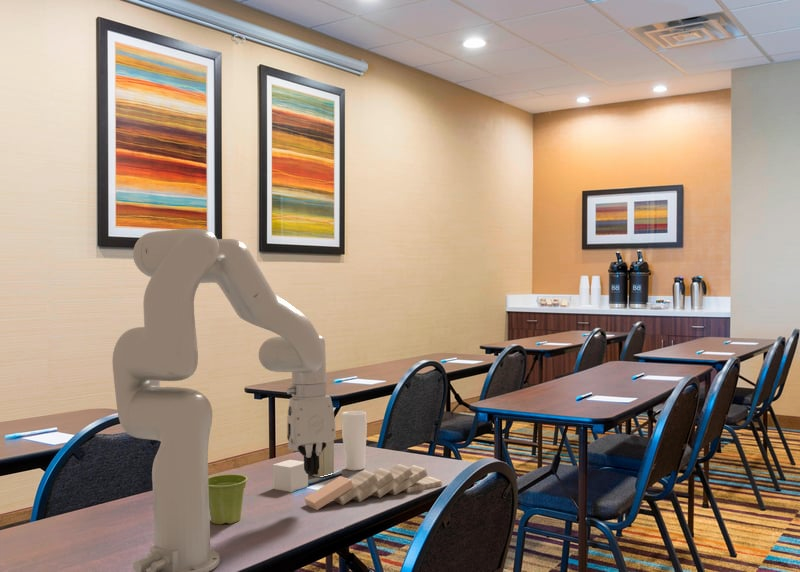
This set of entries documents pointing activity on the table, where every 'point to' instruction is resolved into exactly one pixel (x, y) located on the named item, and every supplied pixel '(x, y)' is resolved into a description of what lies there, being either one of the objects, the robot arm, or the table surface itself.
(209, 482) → the plant pot
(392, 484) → the domino
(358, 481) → the domino
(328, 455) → the skincare box
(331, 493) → the domino
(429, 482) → the domino
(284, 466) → the white cube
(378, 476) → the domino
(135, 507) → the table surface
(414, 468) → the domino
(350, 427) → the drinking glass
